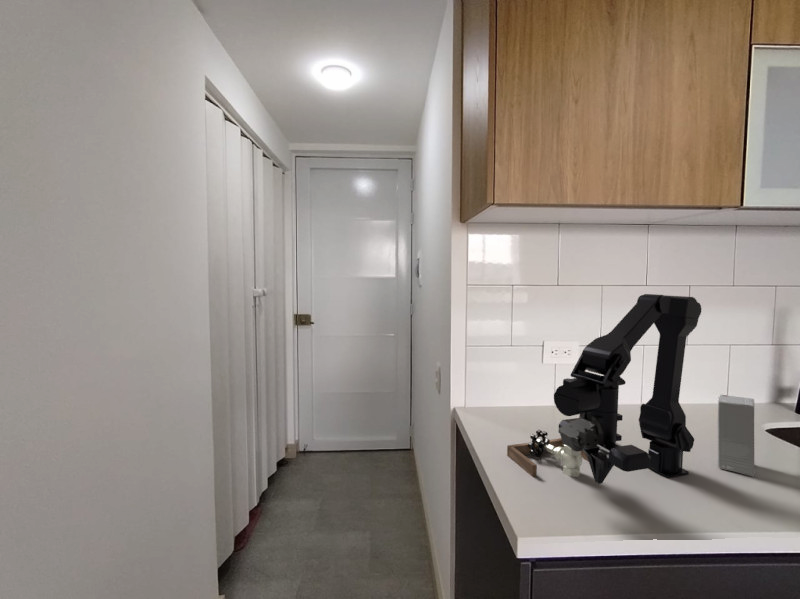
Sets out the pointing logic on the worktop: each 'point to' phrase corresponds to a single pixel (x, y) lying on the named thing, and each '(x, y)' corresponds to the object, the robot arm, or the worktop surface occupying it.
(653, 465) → the robot arm
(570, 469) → the valve
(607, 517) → the worktop surface
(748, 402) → the skincare box
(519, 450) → the carrier bracket
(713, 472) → the worktop surface
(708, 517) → the worktop surface
